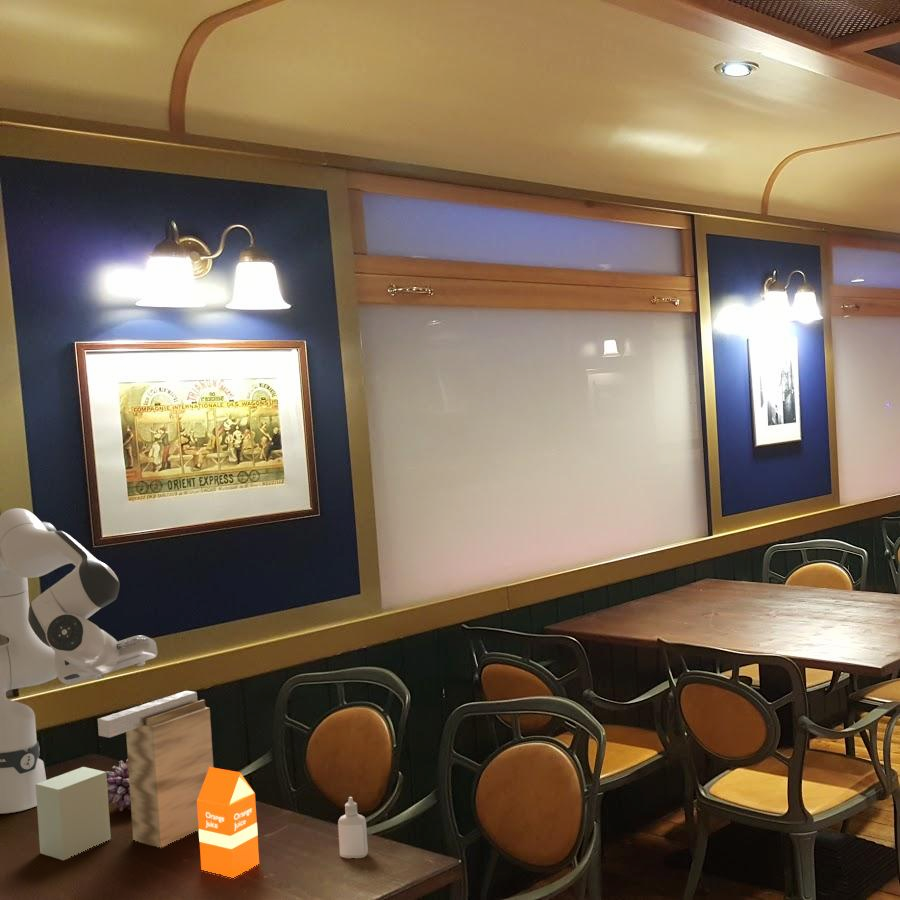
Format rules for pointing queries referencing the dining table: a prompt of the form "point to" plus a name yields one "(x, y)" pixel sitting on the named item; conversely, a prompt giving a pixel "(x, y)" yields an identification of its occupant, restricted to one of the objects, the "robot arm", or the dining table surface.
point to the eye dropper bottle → (352, 832)
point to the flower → (119, 786)
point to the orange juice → (227, 824)
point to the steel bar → (142, 714)
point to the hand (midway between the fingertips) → (120, 668)
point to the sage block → (73, 812)
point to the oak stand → (168, 773)
